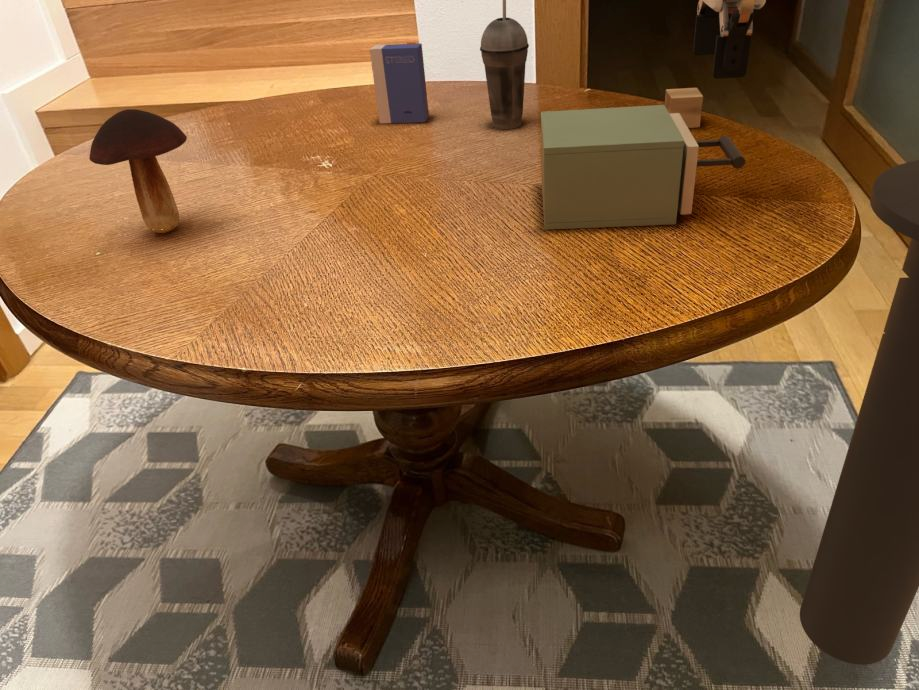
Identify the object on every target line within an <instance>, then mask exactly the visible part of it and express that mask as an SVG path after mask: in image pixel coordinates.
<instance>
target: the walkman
mask: <svg viewBox="0 0 919 690" xmlns="http://www.w3.org/2000/svg"><path fill="white" fill-rule="evenodd" d="M369 55H370V62H371V71H372V78H373V85H374V93H375V101H376V107H377V113H378V122H379V124H412V123H414V124H415V123H416V124H417V123H426V122H427V121H428V119H429V118H430V114H429V102H428V93H427V85H426V84H427V83H426V73H425V72H426V71H425V63H424V53H423V44H422V42H421V43H416V41H414V40H413V41H407V42H406V43H399V44H397V43H396V44H395V43H394V44H393V43H392V44H375V45H374V46H372V47H370V48H369Z"/></svg>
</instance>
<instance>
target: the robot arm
mask: <svg viewBox="0 0 919 690" xmlns="http://www.w3.org/2000/svg"><path fill="white" fill-rule="evenodd" d="M766 2H767V0H698V2H697V8H696V12H697V14H696V16H695V23H694V24H695V26H694V37H693V45H692V46H693V47H692V53H693V54H694V56H706V55H707V56H708V55H714V56H713V65H712V72H711V75H712V77H713V78H714V79H715V80H719V79H735V78H737V79H738V78H744V77H745V76H746V75H747V70H748V65H749V64H748V63H749V57H750V49H751V41H752V35H753V30H754V24H753V20H754V19H755V16H756V14H755V11H754V10H761V9H762V8H763V7H764V6H765V4H766ZM730 14H731V15H730ZM729 15H730V18H729Z"/></svg>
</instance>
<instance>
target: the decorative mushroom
mask: <svg viewBox="0 0 919 690" xmlns="http://www.w3.org/2000/svg"><path fill="white" fill-rule="evenodd" d="M187 139H188V137H187V135H186V133H184V131H182V129H181V128H179V126H178V125H176V124H175V123H174V122H172V121H171V120H168V119H167V118H164V117H162V116H161V115H158V114H156V113H153V112H150V111H145V110H142V109H134V108H132V109H129V108H128V109H127V108H126V109H122V110H120V111H118V112H116V113H115V114H113V115H112V116H111V117H109V118H108V119H107V120H105V121H104V123H103V124H102V125H101V126H100V127H99V129H98V131H97V132H96V134H95V136H94V137H93V140H92V142H91V145H90V149H89V157H88V158H89V161H90V162H92V163H94V164H97V165H101V166H112V165H115V164H119V163H123V162H128V164H129V168H130V169H129V170H130V174H131V175H130V176H131V179H132V184H133V189H134V194H135V198H136V201H137V205H138V208H139V211H140V214H141V218H142V220H143V222H144V224H145V226H146V227H147V228H148V230H149V231H152V232H153V233H157V234H166V233H169V232H171V231H173V230H174V229H175V228H176V227H177V226H178V225H179V223H180V214H179V213H180V212H179V209H178V206H177V202H176V200H175V197H174V195H173V192H172V189H171V186H170V184H169V181H168V179H167V177H166V175H165V173H164V172H163V169H162V168H161V166H160V162H159V161H158V158H157V157H158V156H161V155H164V154H167V153H169V152H173V151H174V150H176V149H178V148H179V147H181V146H182V145H184V144H185V143H186V141H187ZM151 229H154V230H151ZM161 229H163V230H161Z"/></svg>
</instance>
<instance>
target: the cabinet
mask: <svg viewBox="0 0 919 690" xmlns="http://www.w3.org/2000/svg"><path fill="white" fill-rule="evenodd" d="M683 147H684V140H683V138H682V136H681V134H680V132H679V131H678V129H677V127H676V125H675V123H674V121H673V120H672V118H671V116H670V114H669V112H668V111H667V109H666V107H665V104H657V105H656V104H654V105H653V104H651V105H636V106H635V105H634V106H618V107H617V106H616V107H603V108H601V107H600V108H585V109H584V108H583V109H565V110H550V111H549V110H548V111H547V110H546V111H540V158H541V168H540V169H541V170H540V171H541V195H542V210H543V211H542V212H543V226H544V231H549V230H551V231H552V230H553V231H554V230H573V229H575V230H576V229H597V228H600V229H601V228H620V227H621V228H624V227H644V226H645V227H646V226H647V227H648V226H649V227H650V226H669V225H677V219H678V218H677V217H678V210H679V209H678V199H679V189H680V179H681V168H682V158H683Z"/></svg>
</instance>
